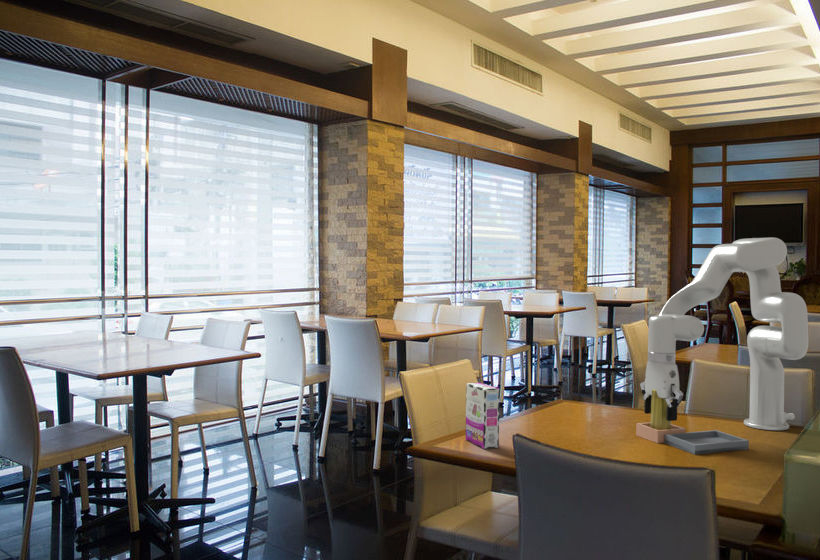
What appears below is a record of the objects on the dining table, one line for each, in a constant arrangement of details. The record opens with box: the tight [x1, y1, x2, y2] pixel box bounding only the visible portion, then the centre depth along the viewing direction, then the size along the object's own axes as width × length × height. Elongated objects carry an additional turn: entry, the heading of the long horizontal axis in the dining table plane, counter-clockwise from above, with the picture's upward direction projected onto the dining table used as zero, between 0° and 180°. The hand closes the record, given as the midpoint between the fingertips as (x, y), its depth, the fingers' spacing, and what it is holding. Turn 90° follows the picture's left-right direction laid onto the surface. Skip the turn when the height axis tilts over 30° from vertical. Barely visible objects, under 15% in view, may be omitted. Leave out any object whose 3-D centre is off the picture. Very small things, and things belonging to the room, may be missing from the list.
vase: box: [650, 389, 672, 430], centre depth 194 cm, size 6×6×14 cm
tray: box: [663, 429, 750, 456], centre depth 185 cm, size 18×12×2 cm, turn 108°
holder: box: [635, 421, 687, 444], centre depth 194 cm, size 10×10×4 cm
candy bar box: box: [465, 382, 501, 450], centre depth 186 cm, size 11×5×16 cm, turn 23°
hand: (660, 416), depth 194 cm, fingers open, 9 cm apart
